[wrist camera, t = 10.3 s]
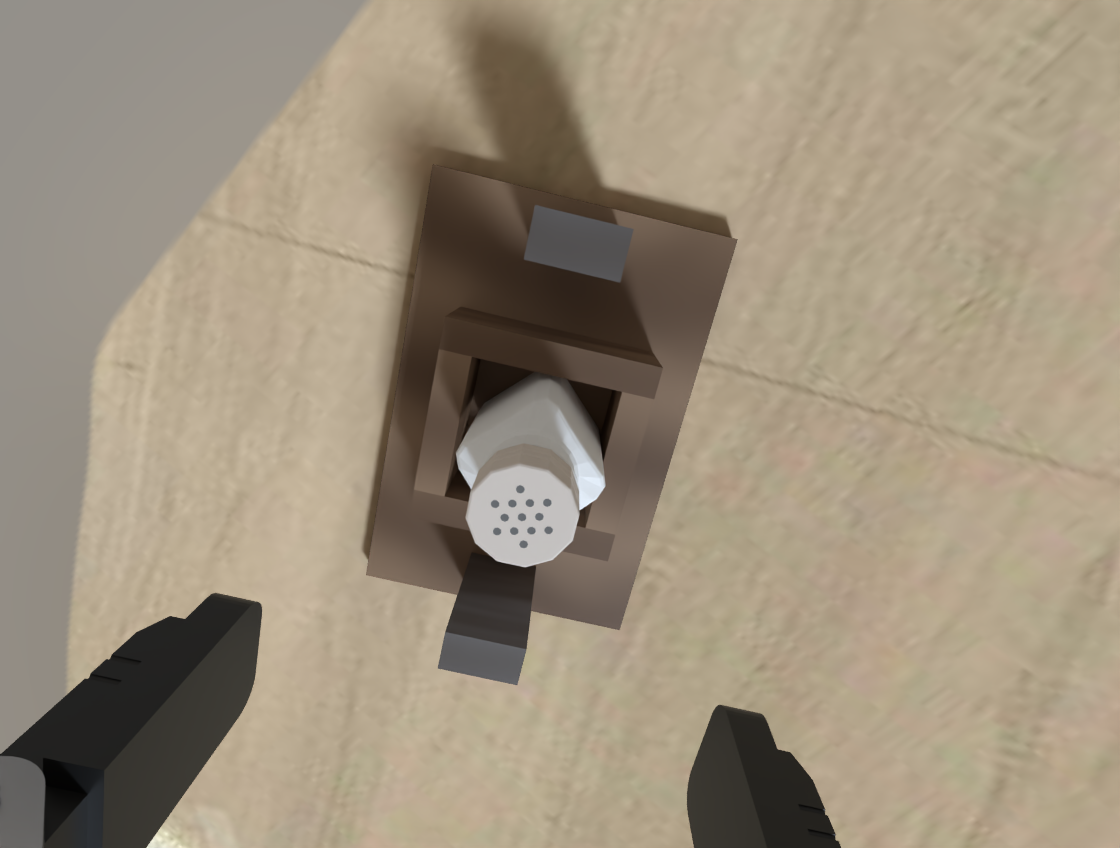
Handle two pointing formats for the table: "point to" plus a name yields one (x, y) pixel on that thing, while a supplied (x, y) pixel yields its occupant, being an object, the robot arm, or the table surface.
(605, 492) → the shaker holder
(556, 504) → the pepper shaker
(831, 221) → the table surface
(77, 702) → the robot arm
